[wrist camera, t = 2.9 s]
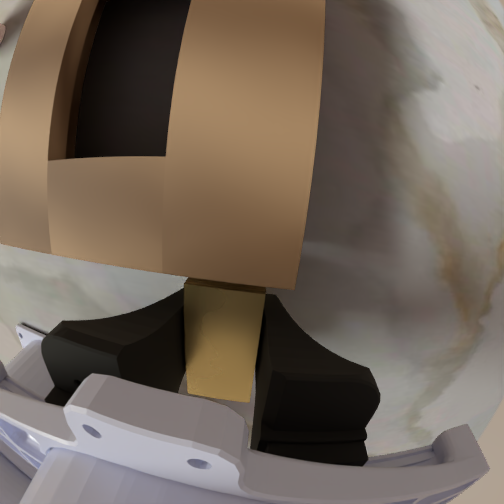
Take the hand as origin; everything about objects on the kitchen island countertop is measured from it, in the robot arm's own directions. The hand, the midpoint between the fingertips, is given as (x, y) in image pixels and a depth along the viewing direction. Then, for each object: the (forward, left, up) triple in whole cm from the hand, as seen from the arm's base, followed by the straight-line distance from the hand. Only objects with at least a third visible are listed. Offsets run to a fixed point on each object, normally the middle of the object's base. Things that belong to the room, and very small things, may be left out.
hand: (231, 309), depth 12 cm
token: (0, 0, -1) cm, 1 cm away
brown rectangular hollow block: (+10, +4, -1) cm, 11 cm away
